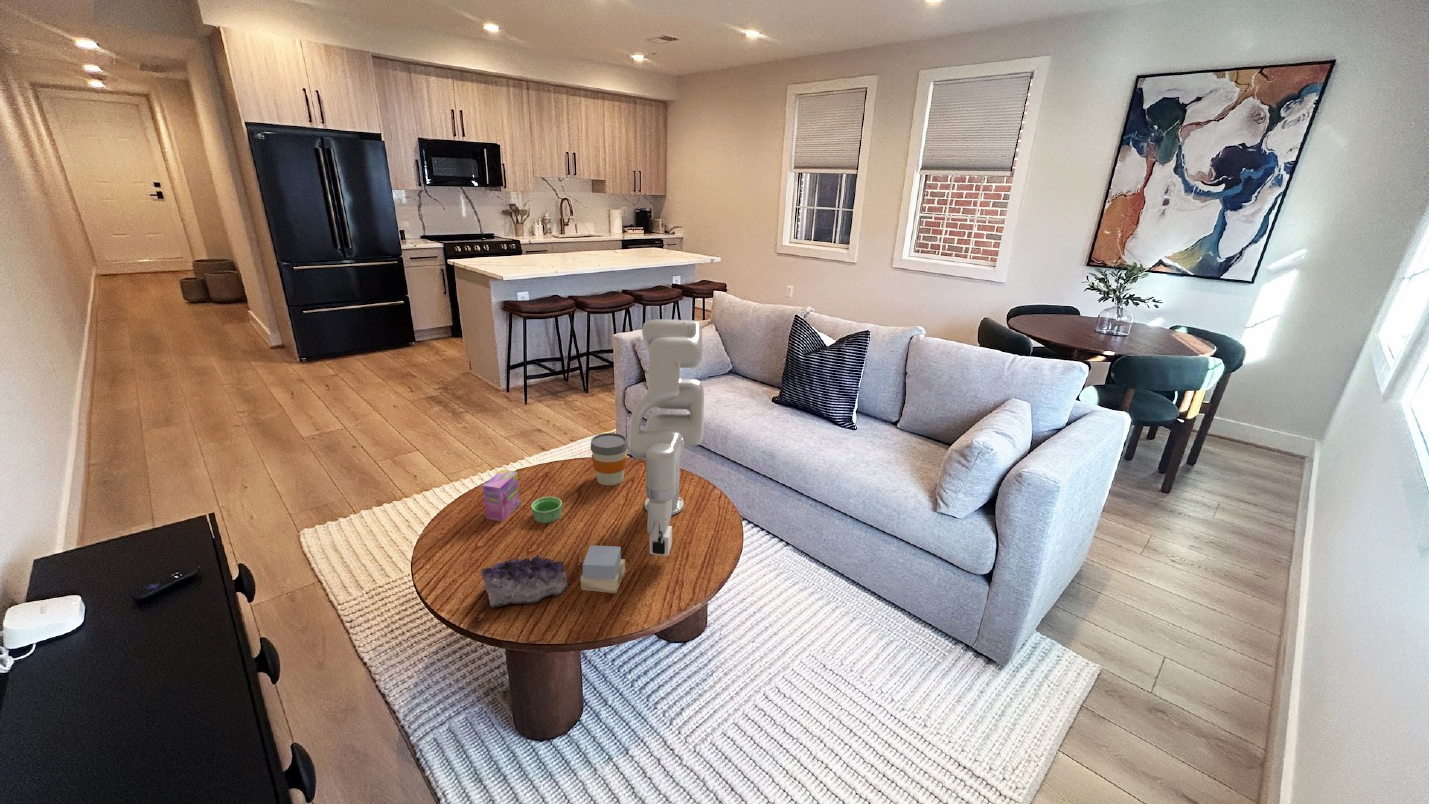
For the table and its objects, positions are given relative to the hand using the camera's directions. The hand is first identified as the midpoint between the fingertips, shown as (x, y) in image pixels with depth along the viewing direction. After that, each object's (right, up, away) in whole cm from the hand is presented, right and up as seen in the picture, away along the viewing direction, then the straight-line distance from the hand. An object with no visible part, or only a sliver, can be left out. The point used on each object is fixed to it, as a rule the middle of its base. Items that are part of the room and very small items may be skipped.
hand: (660, 545), depth 149 cm
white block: (0, -1, 0) cm, 1 cm away
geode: (-33, -9, -11) cm, 36 cm away
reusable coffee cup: (-22, +12, +43) cm, 50 cm away
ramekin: (-37, +4, +20) cm, 42 cm away
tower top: (-14, -4, -8) cm, 17 cm away
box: (-51, +5, +22) cm, 55 cm away
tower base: (-14, -8, -6) cm, 17 cm away
